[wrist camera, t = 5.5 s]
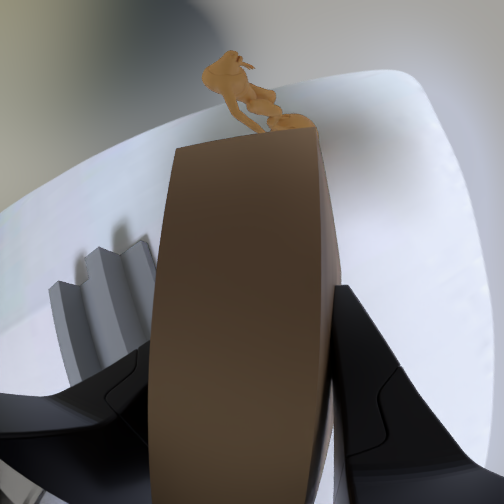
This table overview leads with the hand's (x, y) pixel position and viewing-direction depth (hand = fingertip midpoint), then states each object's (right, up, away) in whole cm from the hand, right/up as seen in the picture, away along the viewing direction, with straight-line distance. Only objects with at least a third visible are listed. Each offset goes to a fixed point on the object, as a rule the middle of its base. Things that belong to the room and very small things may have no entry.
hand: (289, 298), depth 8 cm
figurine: (+2, +10, +17) cm, 20 cm away
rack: (-12, -10, +16) cm, 23 cm away
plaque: (+2, -3, +6) cm, 7 cm away
